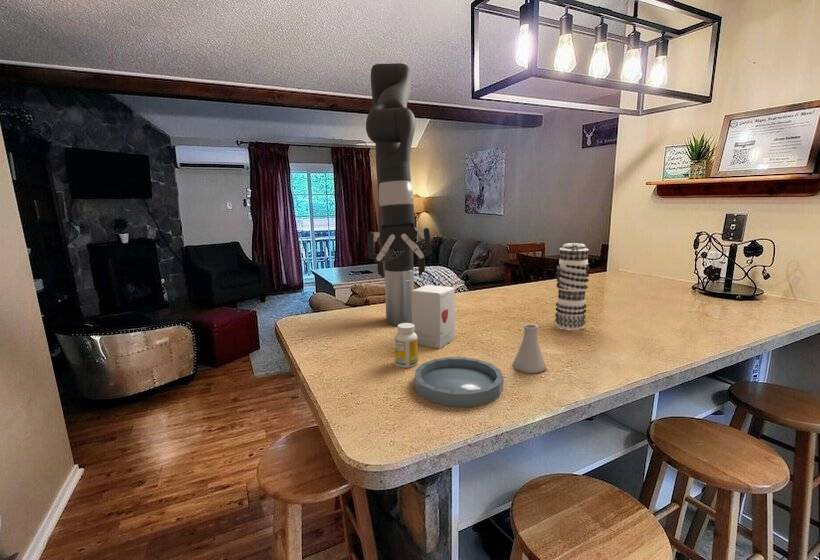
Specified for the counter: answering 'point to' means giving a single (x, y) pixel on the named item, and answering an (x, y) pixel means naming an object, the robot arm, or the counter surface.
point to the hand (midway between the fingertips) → (401, 276)
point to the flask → (529, 352)
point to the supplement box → (433, 315)
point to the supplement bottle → (406, 346)
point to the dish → (458, 381)
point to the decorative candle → (572, 286)
